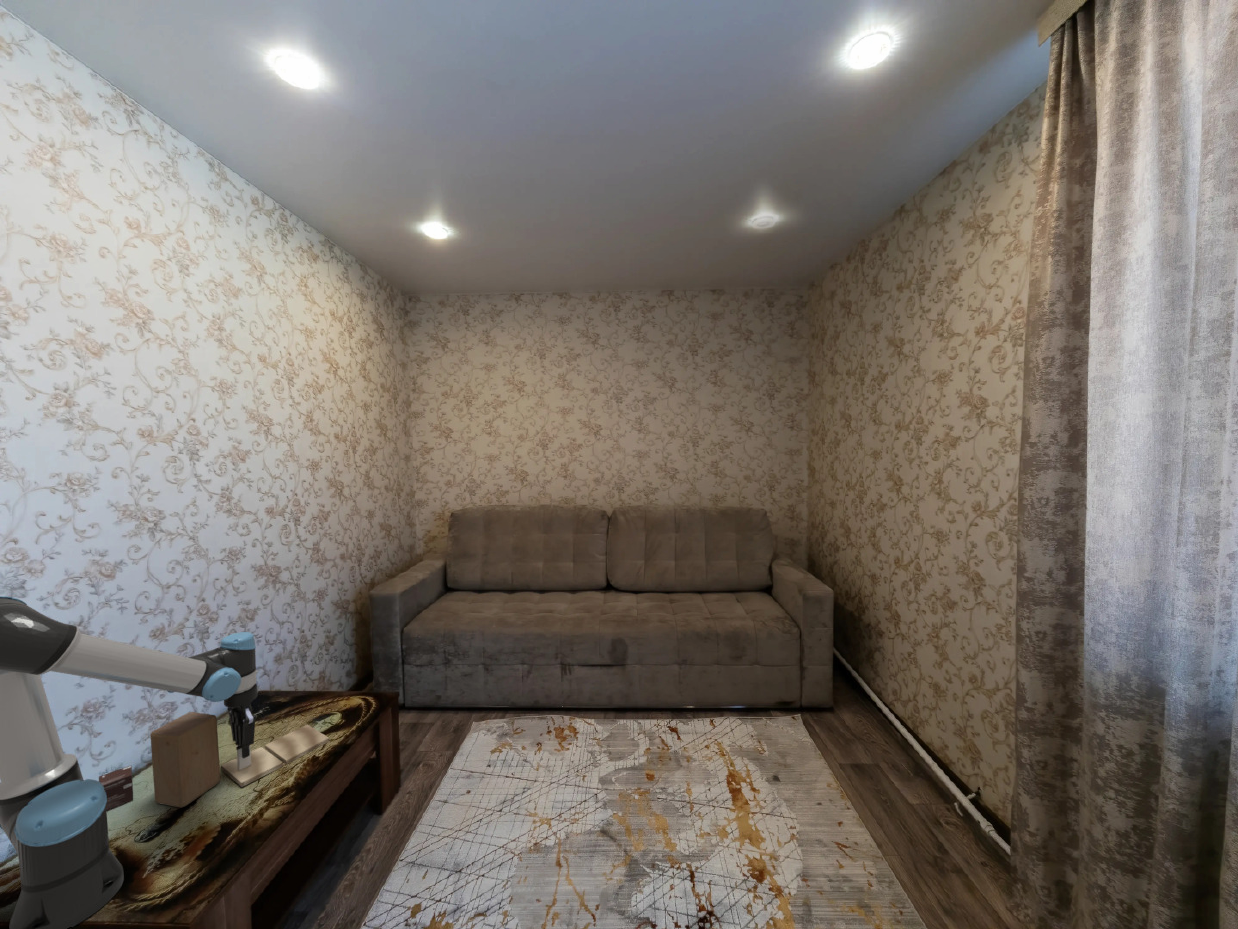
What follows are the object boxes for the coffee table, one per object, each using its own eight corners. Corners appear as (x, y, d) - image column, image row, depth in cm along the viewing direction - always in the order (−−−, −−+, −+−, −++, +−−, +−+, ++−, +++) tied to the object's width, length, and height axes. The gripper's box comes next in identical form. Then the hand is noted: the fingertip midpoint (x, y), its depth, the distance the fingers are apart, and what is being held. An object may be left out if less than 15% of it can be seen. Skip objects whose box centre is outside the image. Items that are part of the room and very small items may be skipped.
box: (99, 815, 118) (97, 787, 118) (100, 802, 122) (98, 776, 122) (133, 801, 123) (131, 774, 122) (133, 789, 127) (131, 764, 127)
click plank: (241, 787, 127) (241, 783, 126) (221, 769, 134) (221, 765, 134) (282, 766, 135) (282, 762, 135) (261, 750, 142) (261, 746, 142)
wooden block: (182, 810, 119) (177, 736, 118) (153, 804, 121) (147, 732, 120) (222, 782, 129) (218, 713, 128) (194, 777, 131) (190, 710, 130)
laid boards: (286, 764, 136) (286, 760, 136) (265, 748, 143) (265, 745, 143) (329, 741, 146) (329, 738, 146) (307, 727, 153) (307, 724, 153)
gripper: (266, 687, 132) (269, 766, 133) (246, 676, 138) (250, 751, 139) (233, 700, 125) (238, 783, 126) (214, 687, 132) (219, 766, 133)
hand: (244, 766), depth 133 cm, fingers closed
